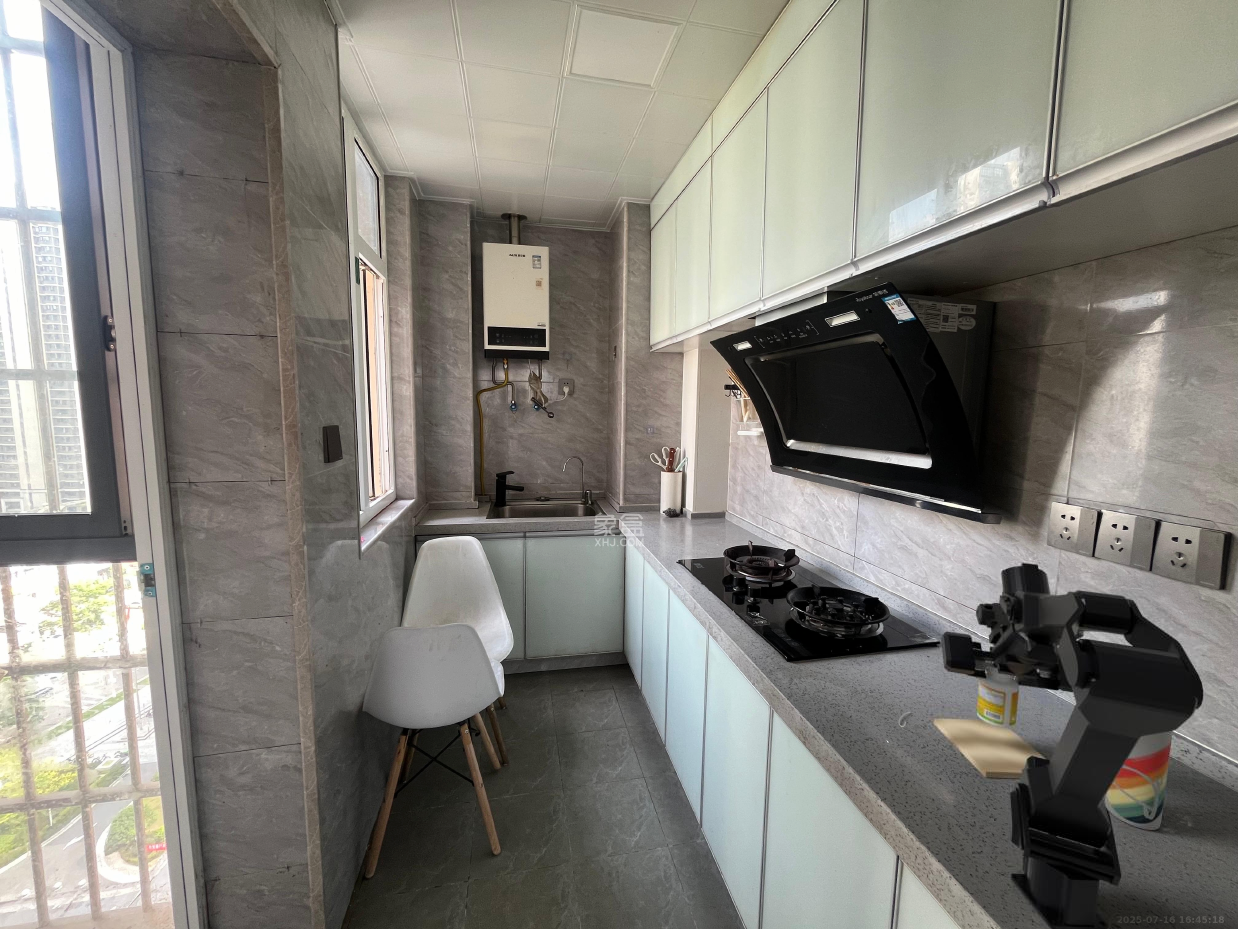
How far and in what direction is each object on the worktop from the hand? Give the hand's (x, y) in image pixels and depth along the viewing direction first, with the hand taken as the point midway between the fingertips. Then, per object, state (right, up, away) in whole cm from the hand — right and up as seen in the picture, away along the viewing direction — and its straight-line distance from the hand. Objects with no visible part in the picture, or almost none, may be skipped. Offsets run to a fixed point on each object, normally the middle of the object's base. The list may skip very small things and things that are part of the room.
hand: (996, 678), depth 87 cm
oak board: (-1, -12, 0) cm, 12 cm away
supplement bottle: (-1, -7, -1) cm, 7 cm away
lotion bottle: (+9, -14, -14) cm, 22 cm away
